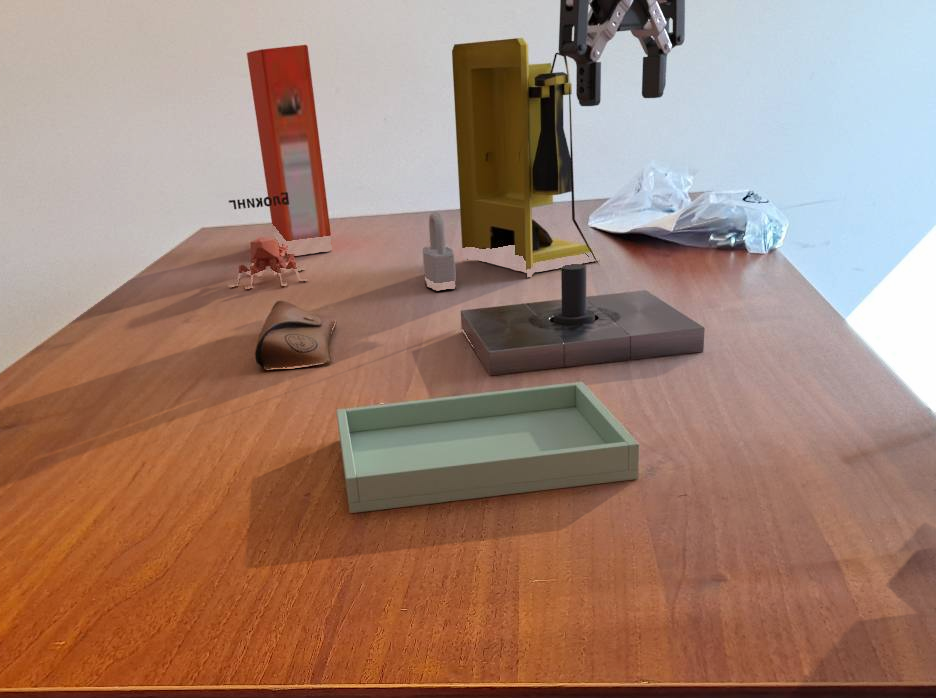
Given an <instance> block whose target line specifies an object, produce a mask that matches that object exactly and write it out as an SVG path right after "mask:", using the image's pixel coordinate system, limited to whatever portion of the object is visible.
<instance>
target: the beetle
mask: <svg viewBox="0 0 936 698" xmlns="http://www.w3.org/2000/svg"><path fill="white" fill-rule="evenodd" d="M281 195H286V197H283V198H282V200H281V202H282V203H283V204H284V205H289V199H288V192H284V193H281ZM275 198H277V201H278V204H280V205H282V203H281V202H280V199H279V196H274V197H273V202H274V206H276V200H275ZM267 200H268V202H267ZM284 200H286V202H284ZM236 201H237V202H236ZM255 201H256V202H257V203H256V204H255ZM228 203H229V204H231V203H233V209H234V210H237V207H238V210H240V209H241V210H242V207H243V209H246V208H247V209H251V207H252V208H253V209H255V208H259V207H261V208H262V207H264V206H265V207H269V206H271V205H272V200H271V198H270V197H268V196H265V197H264V198H262V197H259V198H258V197H255V198H254V197H253V198H251V200H250V198H246V199H245V198H242V202H241V199H230V200H228ZM236 203H237V204H236ZM246 205H247V206H246ZM269 208H270V207H269ZM282 246H283V247H280V246H279V243H278V240H276V239H274V238H269V237H264V236H261V237H259V238H256V239H254V240H252V241H250V263H251V262H252V263H254V265H253V266H251V265H250V267H247V266H246V265H245V264H239V265H238V272H237V274H238V273H242V274H243V273H245V272H247V271H250V270H251V275H253V274H255V273H258V272H260V271H263V270H265V269H266V270H267V267H270V270H271V269H272V270H273V271H275V272H277V273H281V274H282V270H281V269H280V268H286V269H291V268H292V270H293V269H297V267H296V263H297V261H296V262H295V261H294V260H296V257H294V254H288V255H287V257H286V259H284V257H285V255H286V252H287V250H288V249H287V248H288V246H285V244H282ZM292 260H293V261H292ZM285 261H286V262H289V263H288V265H287V266H286V264H285V263H286V262H285ZM272 270H271V271H272Z"/></svg>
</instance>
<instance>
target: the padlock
mask: <svg viewBox="0 0 936 698" xmlns="http://www.w3.org/2000/svg"><path fill="white" fill-rule="evenodd" d="M428 229H429V230H428V231H429V245H430V246H428V247H426V246H424V247H422V258H423V259H422V260H423V274H425V276H424V278H425V277H426V278H427V279H429V280H430V281H433V282H434V283H443V282H450V281H456V282H457V277H456V276H457V275H456V262H455V261H456V260H455V259H456V258H455V252H454V250H453V249H452V248H450V247H448V246H446V237H445V236H446V234H445V225H444V219H443V217H442V215H441V214H440V213H439V212H437V211H433V212H432V213H430V215H429V218H428Z"/></svg>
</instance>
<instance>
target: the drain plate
mask: <svg viewBox="0 0 936 698" xmlns="http://www.w3.org/2000/svg"><path fill="white" fill-rule="evenodd" d="M586 309H587V310H591V311H593V312H594V313H595V321H594V322H591V323H587V324H578V325H561V324H555V323H553V315H554V313H556V312H558V311H562V298H560V299H554V300H544V301H533V302H526V303H517V304H509V305H508V304H506V305H498V306H497V305H496V306H489V307H481V308H471V309H462V310H460V326H461V327H462V328H461V330H462V329H463V330H464V332H465V333H466V335H467V337H468V339H469V340H470V342H471V344H472V345H473V347H474V349H475V351H476V353H477V354H478V356H479V357H478V356H477V357H478V359H479V358H480V359H481V361H482V362H481V361H480V362H481V364H482V363H483V364H482V365H483V367H484V366H485V367H484V368H485V370H486V372H487V373H488V375H489V376H490V377H491V375H492V376H499V375H500V374H501V375H508V374H509V375H510V374H517V373H525V372H526V373H527V372H535V371H544V370H545V371H546V370H553V369H562V368H571V367H580V366H588V365H598V364H606V363H615V362H624V361H631V360H632V361H634V360H643V359H650V358H660V357H669V356H677V355H686V354H694V353H703V352H704V347H705V331H706V330H705V327H704V326H703V325H701V324H700V323H698V322H697V321H695V320H693V319H692V318H691V317H689V316H687V315H686V314H684V313H682V312H681V311H679V310H678V309H676V308H675V307H673V306H672V305H670V304H669V303H667V302H665V301H664V300H662V299H661V298H660V297H657V296H656V295H654V293H651V292H650V291H648V290H646V289H644V290H634V291H627V292H626V291H625V292H616V293H615V292H614V293H607V294H597V295H589V296H586ZM475 351H474V352H475ZM476 353H475V354H476ZM477 354H476V355H477ZM480 359H479V360H480Z"/></svg>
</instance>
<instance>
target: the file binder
mask: <svg viewBox="0 0 936 698" xmlns="http://www.w3.org/2000/svg"><path fill="white" fill-rule="evenodd" d="M246 58H247V66H248V72H249V78H250V85H251V91H252V98H253V106H254V112H255V118H256V125H257V132H258V139H259V143H260V144H259V146H260V152H261V153H260V154H261V159H262V160H261V161H262V166H263V172H264V180H265V186H266V193H267V197H270V198H271V200H272V205H271V206H269V212H270V219H271V225H272V224H273V226H275V227H276V229H277V230H278V231H279V233H280V234H281V235H282V236H283V238H284V239H285V240H286V241H292V240H299V239H307V238H315V237H323V236H330V235H331V236H332V233H331V225H330V217H329V216H330V215H329V209H328V202H327V191H326V185H325V177H324V169H323V168H324V167H323V159H322V153H321V152H322V151H321V144H320V136H319V127H318V119H317V111H316V103H315V95H314V87H313V78H312V71H311V62H310V54H309V46H308V45H307V44H300V45H299V44H298V45H290V46H280V47H272V48H263V49H257V50H252V51H249V52H246ZM284 192H288V199H289V205H284V204H283V203H282V202H281V200H282V198H283V197H286V195H281V193H284ZM274 196H279V199H280V202H281V203H282V205H280V204H278V201H277V198H275V200H276V206H274V202H273V197H274ZM284 202H286V200H284Z"/></svg>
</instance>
